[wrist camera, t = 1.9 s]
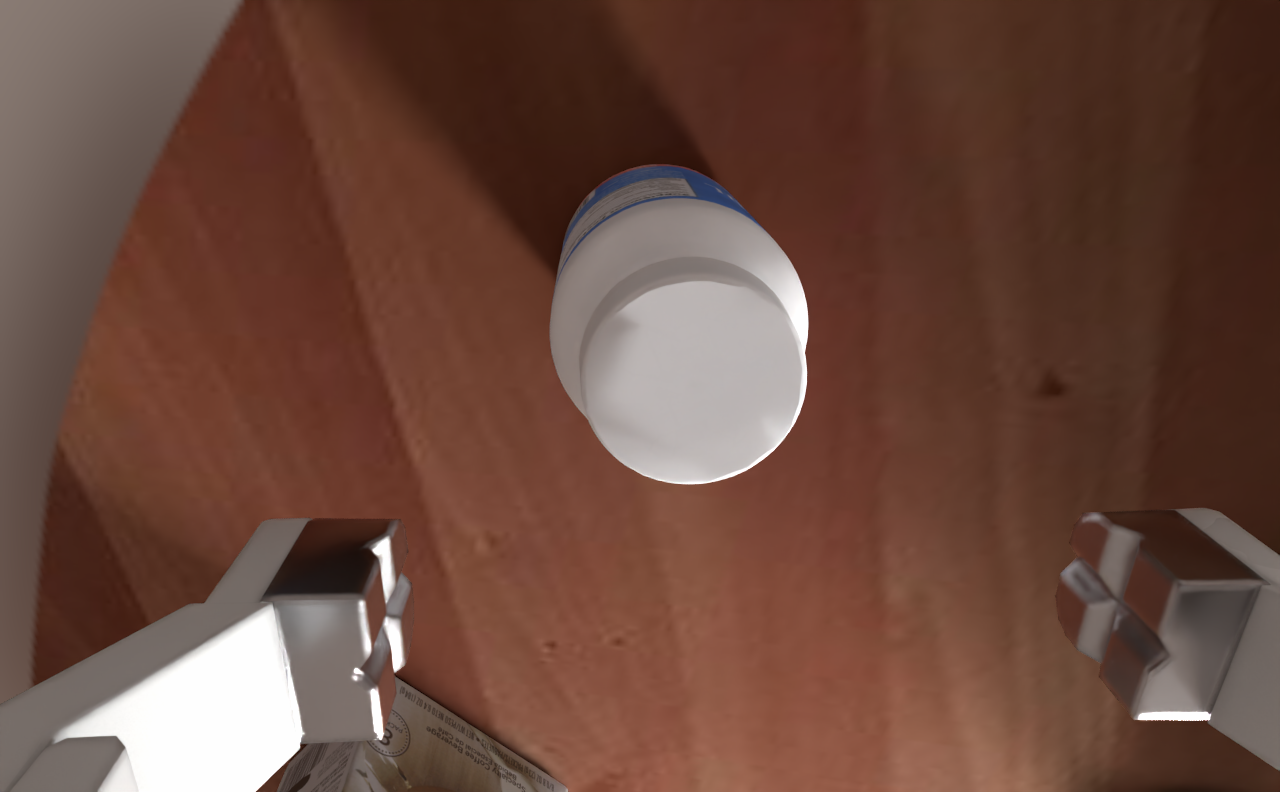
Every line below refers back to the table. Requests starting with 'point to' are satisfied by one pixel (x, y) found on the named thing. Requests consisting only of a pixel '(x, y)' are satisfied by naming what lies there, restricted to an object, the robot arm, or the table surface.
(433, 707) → the coffee box
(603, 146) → the table surface
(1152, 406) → the table surface
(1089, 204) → the table surface
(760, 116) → the table surface
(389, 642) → the robot arm
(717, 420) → the pill bottle
